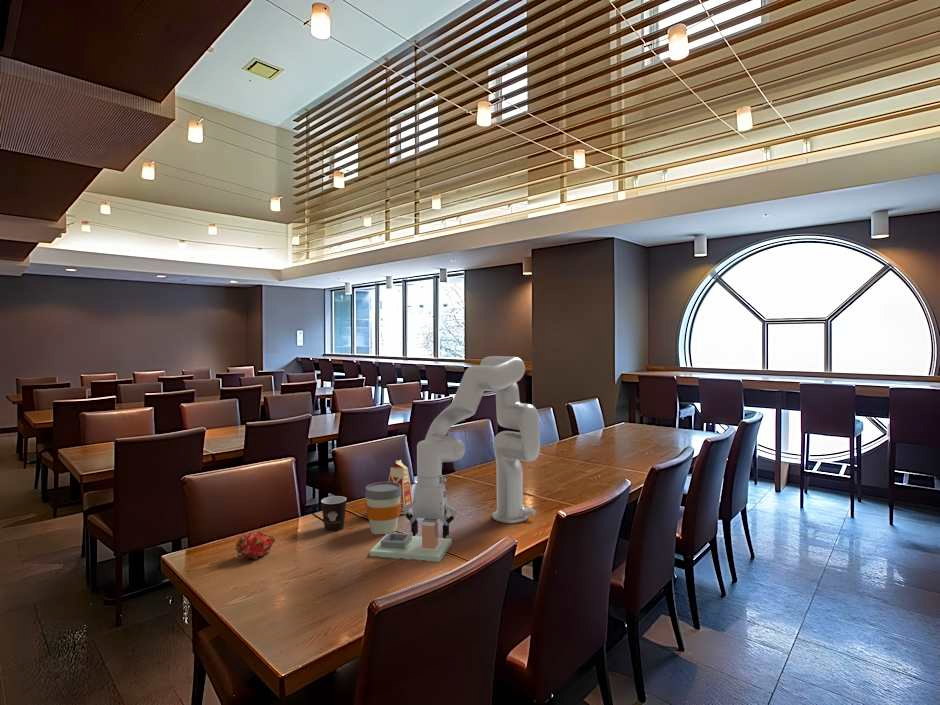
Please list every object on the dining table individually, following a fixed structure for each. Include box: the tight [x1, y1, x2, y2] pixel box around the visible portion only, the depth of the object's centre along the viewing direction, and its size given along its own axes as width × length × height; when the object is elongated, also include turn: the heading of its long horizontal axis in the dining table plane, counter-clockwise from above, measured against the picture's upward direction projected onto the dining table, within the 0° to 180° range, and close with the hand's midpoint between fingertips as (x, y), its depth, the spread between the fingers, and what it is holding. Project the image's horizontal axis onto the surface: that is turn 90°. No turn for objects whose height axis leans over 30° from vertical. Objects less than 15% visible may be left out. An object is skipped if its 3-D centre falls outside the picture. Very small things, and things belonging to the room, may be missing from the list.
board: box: [369, 532, 453, 563], centre depth 157 cm, size 22×14×3 cm, turn 78°
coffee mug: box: [309, 495, 348, 533], centre depth 176 cm, size 12×9×10 cm
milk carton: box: [387, 459, 413, 514], centre depth 194 cm, size 9×9×20 cm
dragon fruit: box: [234, 530, 276, 560], centre depth 153 cm, size 8×8×12 cm
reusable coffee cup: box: [364, 481, 402, 535], centre depth 174 cm, size 13×12×15 cm
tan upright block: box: [421, 518, 439, 549], centre depth 156 cm, size 4×4×8 cm
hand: (430, 535), depth 156 cm, fingers open, 9 cm apart
